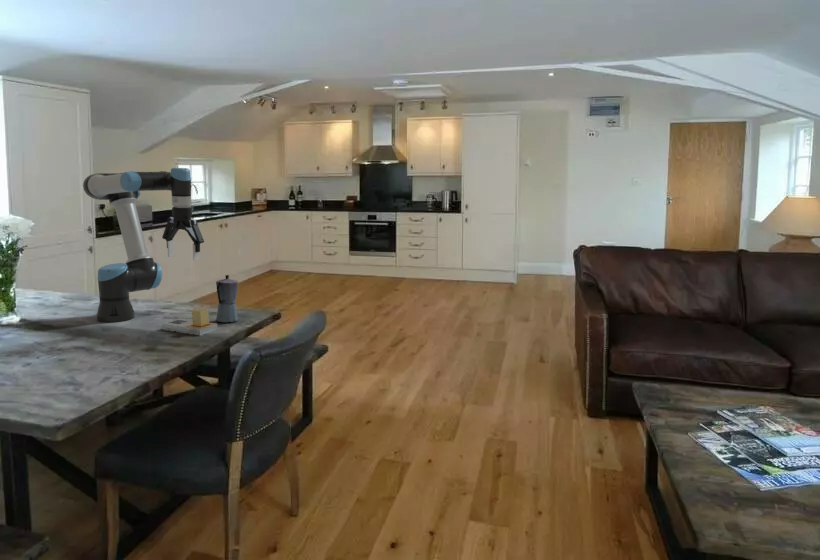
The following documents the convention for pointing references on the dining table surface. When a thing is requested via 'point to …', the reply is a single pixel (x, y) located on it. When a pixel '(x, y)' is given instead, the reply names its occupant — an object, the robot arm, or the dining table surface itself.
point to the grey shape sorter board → (188, 327)
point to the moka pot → (227, 300)
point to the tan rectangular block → (200, 317)
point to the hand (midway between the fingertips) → (183, 258)
